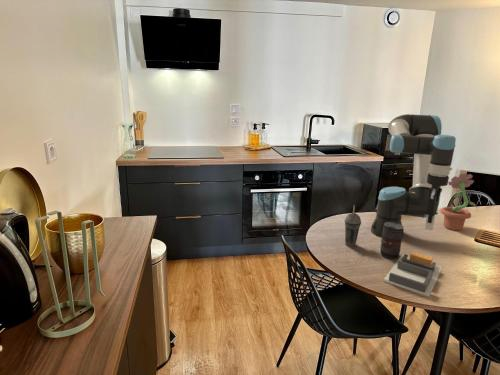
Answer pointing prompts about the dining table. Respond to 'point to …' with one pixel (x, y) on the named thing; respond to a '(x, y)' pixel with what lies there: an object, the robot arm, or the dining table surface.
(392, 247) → the camera lens
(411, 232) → the dining table surface
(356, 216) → the beverage cup
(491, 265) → the dining table surface
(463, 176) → the decorative flower
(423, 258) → the orange rectangular brick
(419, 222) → the dining table surface
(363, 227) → the dining table surface
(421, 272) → the board
